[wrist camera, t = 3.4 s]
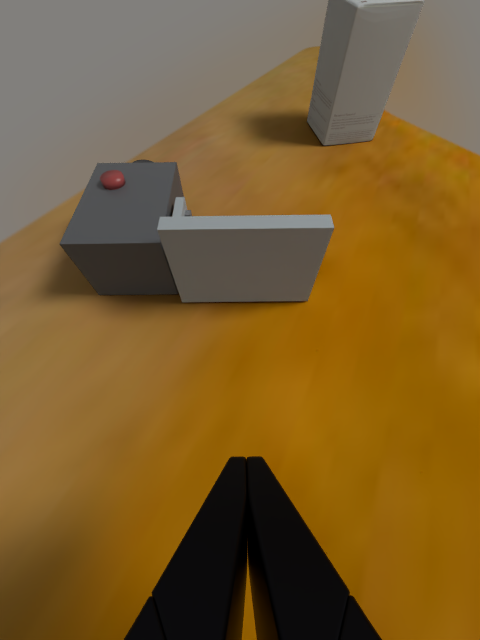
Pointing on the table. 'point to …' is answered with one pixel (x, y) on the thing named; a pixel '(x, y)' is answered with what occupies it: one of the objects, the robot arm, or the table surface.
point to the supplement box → (358, 66)
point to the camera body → (124, 228)
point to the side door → (244, 255)
